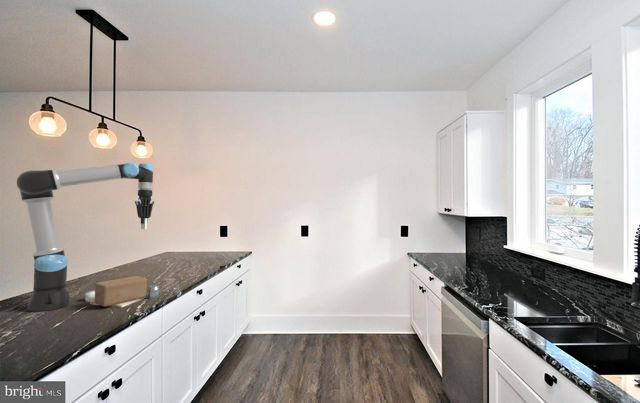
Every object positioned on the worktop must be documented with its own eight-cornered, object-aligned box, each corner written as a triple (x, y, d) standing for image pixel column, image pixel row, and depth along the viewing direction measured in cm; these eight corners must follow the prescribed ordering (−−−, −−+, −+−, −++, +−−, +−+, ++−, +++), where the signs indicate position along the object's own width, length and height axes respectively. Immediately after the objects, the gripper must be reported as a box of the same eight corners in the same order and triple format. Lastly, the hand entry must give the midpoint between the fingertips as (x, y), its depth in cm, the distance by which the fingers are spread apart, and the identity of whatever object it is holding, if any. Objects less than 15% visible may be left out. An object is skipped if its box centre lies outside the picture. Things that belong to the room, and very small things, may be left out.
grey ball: (145, 298, 158) (146, 287, 158) (152, 295, 163) (152, 284, 163) (154, 299, 157) (154, 287, 157) (160, 296, 162) (161, 285, 162)
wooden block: (147, 297, 157) (103, 307, 140) (136, 293, 162) (93, 303, 145) (147, 277, 157) (104, 285, 140) (137, 275, 162) (94, 282, 145)
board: (89, 304, 147) (90, 302, 147) (117, 295, 163) (117, 293, 163) (121, 307, 143) (121, 305, 144) (146, 297, 159) (147, 295, 159)
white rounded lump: (82, 301, 151) (82, 293, 151) (93, 297, 157) (93, 290, 157) (92, 302, 150) (92, 294, 150) (102, 298, 156) (103, 291, 156)
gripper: (142, 189, 173) (140, 230, 173) (158, 190, 186) (157, 228, 186) (131, 188, 175) (129, 229, 174) (147, 190, 188) (146, 228, 187)
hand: (143, 229), depth 180 cm, fingers closed
